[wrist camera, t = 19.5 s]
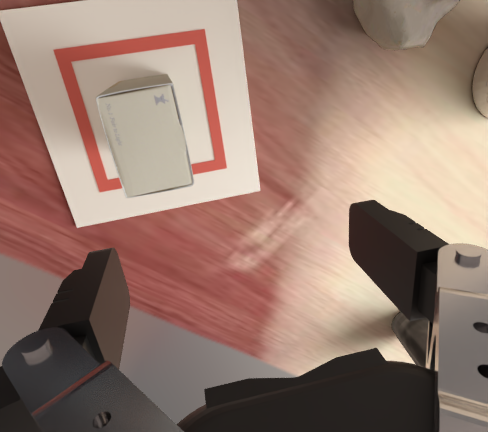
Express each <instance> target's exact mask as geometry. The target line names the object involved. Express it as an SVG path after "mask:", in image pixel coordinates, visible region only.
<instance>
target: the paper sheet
mask: <svg viewBox="0 0 488 432" xmlns="http://www.w3.org/2000/svg"><path fill="white" fill-rule="evenodd" d="M0 21H1V24H2V27H3V29H4V32H5V35H6V37H7V40H8V43H9V46H10V48H11V51H12V54H13V56H14V59H15V62H16V64H17V67H18V70H19V72H20V75H21V78H22V81H23V83H24V86H25V89H26V91H27V94H28V97H29V99H30V102H31V105H32V108H33V110H34V113H35V116H36V118H37V121H38V124H39V126H40V129H41V132H42V134H43V137H44V140H45V143H46V145H47V148H48V151H49V153H50V156H51V159H52V161H53V164H54V167H55V170H56V172H57V175H58V178H59V180H60V183H61V186H62V188H63V191H64V194H65V197H66V199H67V202H68V205H69V207H70V210H71V213H72V215H73V218H74V221H75V223H76V226H77V228H78V227H83V226H88V225H93V224H98V223H103V222H108V221H113V220H118V219H123V218H128V217H133V216H138V215H143V214H148V213H153V212H158V211H163V210H167V209H172V208H177V207H182V206H187V205H192V204H197V203H202V202H207V201H212V200H217V199H222V198H227V197H232V196H237V195H242V194H247V193H252V192H257V191H260V184H259V175H258V167H257V159H256V151H255V143H254V135H253V127H252V118H251V110H250V102H249V94H248V86H247V78H246V70H245V62H244V53H243V45H242V37H241V29H240V21H239V13H238V5H237V0H84V1H76V2H67V3H59V4H51V5H43V6H34V7H26V8H18V9H10V10H1V11H0ZM162 74H168V76H169V78H170V79H171V81H172V83H173V84H174V88H175V93H176V97H177V101H178V105H179V110H180V114H181V118H182V123H183V127H184V132H185V136H186V141H187V146H188V151H189V156H190V161H191V166H192V172H193V177H194V185H193V186H191V187H187V188H182V189H177V190H172V191H167V192H161V193H156V194H150V195H145V196H139V197H133V198H126V196H125V194H124V191H123V188H122V185H121V182H120V179H119V176H118V174H117V170H116V167H115V164H114V161H113V158H112V155H111V152H110V149H109V146H108V142H107V139H106V136H105V132H104V129H103V125H102V122H101V118H100V114H99V111H98V107H97V103H96V97H97V96H98V95H99V94H101V93H102V92H104V91H105V90H106V89H108V88H109V87H111V86H113V85H114V84H116V83H117V82H119V81H124V80H129V79H135V78H141V77H147V76H154V75H162Z"/></svg>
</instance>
